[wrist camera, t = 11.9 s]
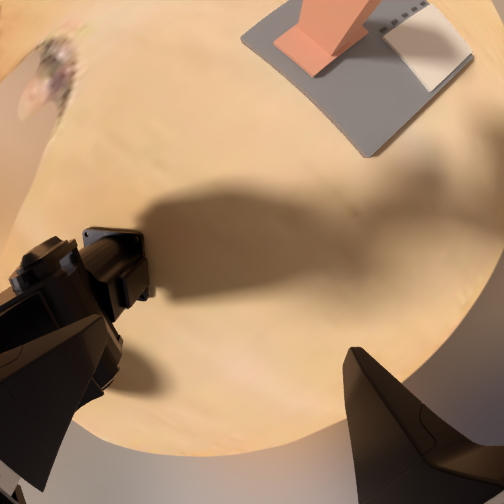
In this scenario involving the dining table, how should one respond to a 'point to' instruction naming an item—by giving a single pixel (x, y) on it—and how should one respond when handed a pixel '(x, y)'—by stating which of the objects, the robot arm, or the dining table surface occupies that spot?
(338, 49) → the stub
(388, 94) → the ticket board
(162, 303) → the dining table surface
